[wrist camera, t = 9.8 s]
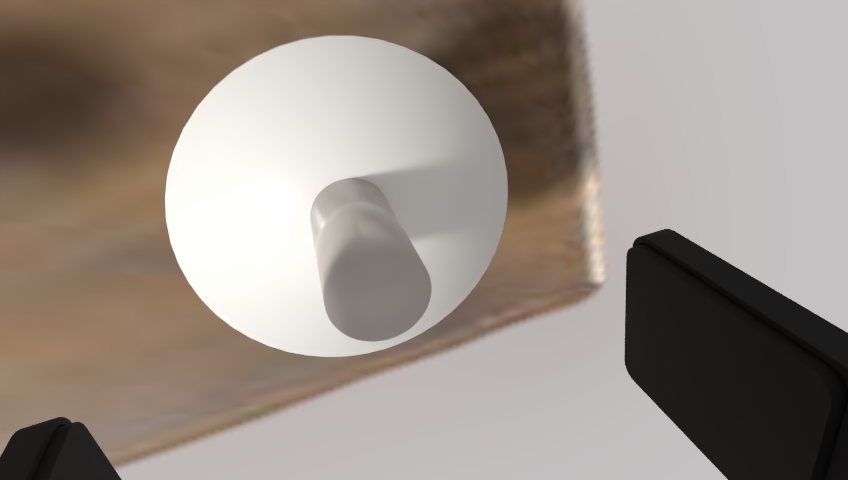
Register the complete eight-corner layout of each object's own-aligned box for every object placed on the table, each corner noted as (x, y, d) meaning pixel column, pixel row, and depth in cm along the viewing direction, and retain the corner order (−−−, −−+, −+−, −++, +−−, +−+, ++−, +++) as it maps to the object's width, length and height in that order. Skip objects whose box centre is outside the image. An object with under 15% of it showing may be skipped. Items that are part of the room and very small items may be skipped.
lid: (105, 79, 14) (9, 126, 9) (478, 0, 16) (578, 1, 11) (238, 380, 19) (226, 522, 14) (513, 295, 21) (593, 394, 16)
